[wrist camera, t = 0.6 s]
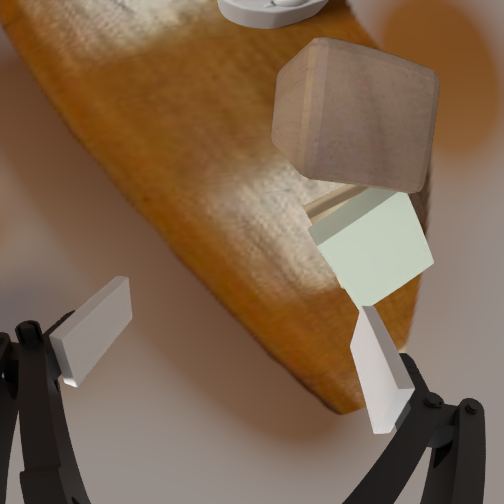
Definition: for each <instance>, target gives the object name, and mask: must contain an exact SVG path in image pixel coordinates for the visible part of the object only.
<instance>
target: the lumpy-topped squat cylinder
mask: <svg viewBox="0 0 504 504" xmlns="http://www.w3.org/2000/svg"><path fill="white" fill-rule="evenodd" d="M217 1H218V5H219V9H220V11H221V13H222V14H223V16H224V17H226V18H227V19H228V20H230V21H232V22H234V23H237V24H239V25H242V26H246V27H252V28H262V29H274V28H279V27H283V26H287V25H290V24H293V23H296V22H299V21H302V20H304V19H307V18H309V17H312V16H314V15H315V14H317V13H318V12H319V11H320V10H321V9H322V8H323V6H324V5H325V4H326V3H327V2H328V1H329V0H217Z"/></svg>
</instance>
